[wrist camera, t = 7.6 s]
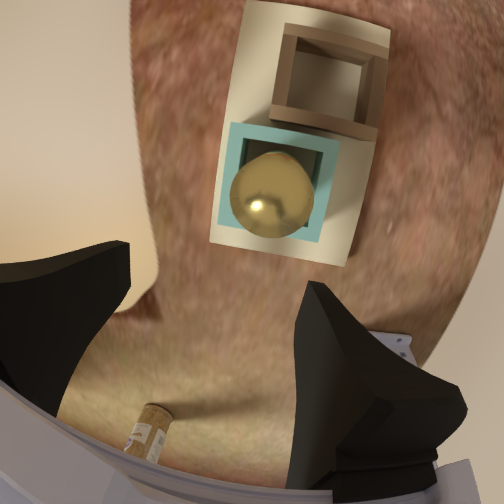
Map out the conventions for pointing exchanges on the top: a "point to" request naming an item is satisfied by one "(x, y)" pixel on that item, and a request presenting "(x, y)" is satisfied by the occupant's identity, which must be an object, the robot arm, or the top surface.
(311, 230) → the socket
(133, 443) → the spice jar
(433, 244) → the top surface
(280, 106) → the mount
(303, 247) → the board
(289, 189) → the pin
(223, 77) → the top surface
